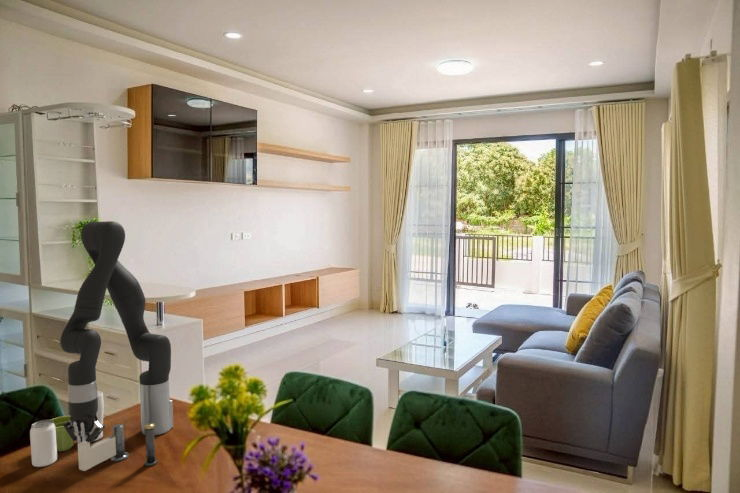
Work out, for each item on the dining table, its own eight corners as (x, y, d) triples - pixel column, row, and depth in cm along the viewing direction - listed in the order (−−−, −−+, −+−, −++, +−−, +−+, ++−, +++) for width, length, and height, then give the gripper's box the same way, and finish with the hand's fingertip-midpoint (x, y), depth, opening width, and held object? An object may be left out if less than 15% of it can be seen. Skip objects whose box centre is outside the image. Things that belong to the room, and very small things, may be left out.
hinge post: (122, 452, 162) (121, 421, 161) (132, 456, 159) (130, 424, 159) (107, 458, 158) (105, 426, 157) (116, 463, 155) (114, 430, 154)
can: (30, 469, 152) (28, 429, 151) (33, 460, 158) (30, 421, 157) (56, 464, 155) (54, 425, 154) (58, 455, 161) (55, 417, 160)
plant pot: (41, 448, 166) (39, 421, 165) (73, 438, 172) (72, 413, 172) (50, 457, 159) (48, 430, 159) (83, 447, 166) (82, 420, 165)
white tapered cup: (95, 443, 168) (93, 398, 167) (77, 442, 170) (74, 397, 168) (110, 435, 175) (107, 391, 174) (92, 433, 176) (90, 390, 175)
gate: (111, 453, 157) (109, 429, 157) (116, 454, 156) (115, 430, 156) (79, 469, 148) (77, 443, 147) (84, 471, 147) (83, 445, 146)
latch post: (152, 459, 157) (151, 421, 156) (160, 462, 155) (158, 424, 154) (141, 464, 154) (140, 425, 153) (149, 467, 152) (147, 428, 151)
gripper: (111, 394, 153) (113, 451, 154) (74, 390, 156) (76, 446, 157) (92, 404, 145) (94, 463, 147) (53, 399, 149) (55, 458, 150)
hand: (85, 454), depth 152 cm, fingers closed
